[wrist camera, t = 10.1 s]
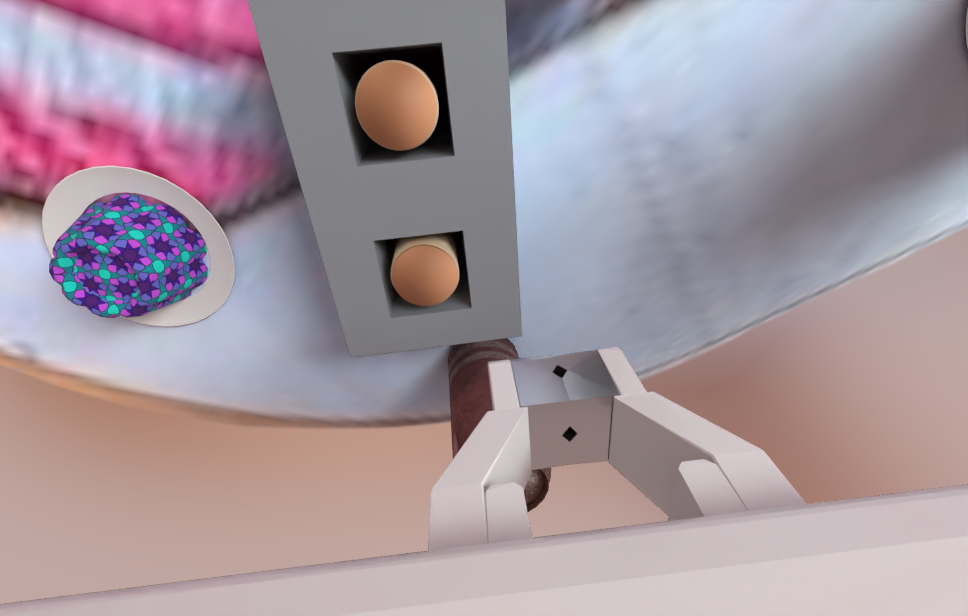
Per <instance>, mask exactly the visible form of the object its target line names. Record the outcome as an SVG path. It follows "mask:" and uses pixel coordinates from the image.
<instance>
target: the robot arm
mask: <svg viewBox="0 0 968 616" xmlns="http://www.w3.org/2000/svg"><path fill="white" fill-rule="evenodd" d="M966 41H967V47H968V9H967V17H966ZM488 373H489V382H490V391H491V400H492V409H493V411H488V412H486V414H485V415H484V416H483V418H482V419H481V421H480V422H479V424H478V425H477V426H476V428H475V429H474V431H473V432H472V433H471V435H470V436H469V438H468V439H467V440H466V442H465V443H464V445H463V446H462V447H461V449H460V450H459V452H458V453H457V454H456V456H455V457H454V459H453V460H452V461H451V463H450V464H449V466H448V467H447V468H446V470H445V471H444V473H443V474H442V476H441V477H440V478H439V480H438V481H437V482H436V484H435V486H434V487H433V488H432V490H431V501H430V522H429V543H428V551H424V552H414V553H406V554H398V555H390V556H383V557H374V558H366V559H359V560H350V561H342V562H335V563H326V564H318V565H311V566H302V567H294V568H286V569H278V570H270V571H262V572H254V573H246V574H237V575H229V576H222V577H213V578H205V579H198V580H190V581H182V582H173V583H166V584H158V585H149V586H141V587H134V588H126V589H118V590H109V591H102V592H93V593H85V594H77V595H70V596H61V597H54V598H45V599H37V600H29V601H21V602H13V603H5V604H0V616H968V484H963V485H956V486H947V487H939V488H930V489H922V490H915V491H906V492H898V493H891V494H882V495H874V496H866V497H858V498H850V499H842V500H834V501H825V502H817V503H809V504H806V503H805V501H804V500H803V499H802V498H801V496H800V495H799V494H798V493H797V492H796V490H795V489H794V488H793V487H792V485H791V484H790V483H789V482H788V480H787V479H786V478H785V477H784V475H783V474H782V473H781V472H780V470H779V469H778V468H777V467H776V465H775V464H774V463H773V462H772V461H771V459H770V458H769V457H768V455H767V454H766V453H765V452H764V451H763V450H762V449H760V448H758V447H756V446H754V445H752V444H750V443H749V442H747V441H745V440H743V439H741V438H739V437H737V436H735V435H734V434H732V433H730V432H728V431H726V430H724V429H722V428H721V427H719V426H717V425H715V424H713V423H711V422H709V421H707V420H706V419H704V418H702V417H700V416H698V415H696V414H694V413H693V412H691V411H689V410H687V409H685V408H683V407H681V406H679V405H678V404H676V403H674V402H672V401H670V400H668V399H666V398H664V397H663V396H661V395H659V394H657V393H655V392H646V390H645V389H644V387H643V385H642V383H641V382H640V380H639V379H638V377H637V375H636V374H635V372H634V370H633V369H632V367H631V365H630V364H629V362H628V360H627V359H626V357H625V355H624V354H623V352H622V351H621V349H620V348H619V347H617V346H616V347H609V348H602V349H595V350H594V351H585V352H577V353H569V354H561V355H549V356H539V357H528V358H518V359H510V360H509V359H508V360H499V361H490V362H488ZM601 461H609V463H610V464H611V465H612V466H613V467H614V468H615V469H616V470H618V471H619V472H620V473H621V474H622V475H623V476H624V477H625V478H626V479H628V480H629V481H630V482H631V483H632V484H633V485H634V486H635V487H637V488H638V489H639V490H640V491H641V492H642V493H643V494H644V495H645V496H646V497H648V498H649V499H650V500H651V501H652V502H653V503H654V504H655V505H657V506H658V507H659V508H660V509H661V510H662V511H664V513H666V514H667V515H668V516H669V518H668V521H664V522H656V523H648V524H641V525H632V526H624V527H616V528H608V529H600V530H592V531H584V532H575V533H568V534H559V535H552V536H543V537H535V538H532V534H531V528H530V523H529V518H528V512H527V507H526V501H525V496H524V489H525V487H526V485H527V482H528V480H529V477H530V475H531V473H532V471H531V470H536V469H543V468H549V467H556V466H563V465H569V464H580V463H591V462H601Z"/></svg>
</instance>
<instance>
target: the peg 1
mask: <svg viewBox="0 0 968 616" xmlns="http://www.w3.org/2000/svg"><path fill="white" fill-rule="evenodd" d="M355 108H356V113H357V117H358V120H359V122H360V124H361V126H362V128H363V129H364V131H365V132H366V134H367V135H368V136H369V137H370V138H371V139H372V140H373V141H375V142H376V143H378V144H379V145H381V146H383V147H385V148H388V149H391V150H398V151H404V150H410V149H413V148H416V147H418V146H420V145H421V144H422V143H424V142H425V141H426V140H427V139H428V138H429V137H430V136H431V134H432V132H433V131H434V129H435V127H436V124H437V120H438V115H439V104H438V96H437V91H436V87H435V85H434V83H433V81H432V79H431V78H430V76H429V75H428V74H427V73H426V72H425V71H424V70H423V69H422V68H420V67H419V66H417V65H414V64H412V63H408V62H404V61H399V60H388V61H383V62H380V63H378V64H376V65H374V66H372V67H371V68H370V69H368V70H367V71H366V72H365V74H364V75H363V76H362V78H361V80H360V81H359V84H358V86H357V90H356V95H355Z"/></svg>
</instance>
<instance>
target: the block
mask: <svg viewBox="0 0 968 616" xmlns="http://www.w3.org/2000/svg"><path fill="white" fill-rule="evenodd" d="M247 1H248V4H249V8H250V11H251V15H252V18H253V22H254V25H255V29H256V32H257V36H258V39H259V43H260V46H261V50H262V53H263V56H264V60H265V63H266V67H267V70H268V74H269V77H270V81H271V84H272V88H273V91H274V95H275V98H276V101H277V105H278V108H279V112H280V115H281V119H282V122H283V126H284V129H285V133H286V136H287V140H288V143H289V147H290V150H291V153H292V157H293V160H294V164H295V167H296V171H297V174H298V178H299V181H300V185H301V188H302V192H303V195H304V198H305V202H306V205H307V209H308V212H309V216H310V219H311V223H312V226H313V230H314V233H315V237H316V240H317V243H318V247H319V250H320V254H321V257H322V261H323V264H324V268H325V271H326V275H327V278H328V282H329V285H330V289H331V292H332V295H333V299H334V302H335V306H336V309H337V313H338V316H339V320H340V323H341V327H342V330H343V334H344V337H345V340H346V344H347V347H348V351H349V354H350V358H354V357H362V356H370V355H377V354H385V353H393V352H401V351H409V350H417V349H425V348H433V347H440V346H448V345H456V344H464V343H472V342H480V341H488V340H495V339H503V338H511V337H519V336H522V332H521V311H520V291H519V271H518V251H517V230H516V210H515V190H514V170H513V149H512V129H511V109H510V89H509V68H508V48H507V28H506V8H505V0H247ZM438 49H440V55H441V64H442V72H443V81H444V90H445V98H446V107H447V116H448V124H449V133H450V135H448V136H438V137H429V138H428V139H427V140H426V141H425V142H424V143H422V144H421V145H420V146H418V147H416V148H413V149H410V150H404V151H398V150H391V149H388V148H385V147H383V146H381V145H379V144H378V143H375V141H373V140H372V139H371V138H370V137H369V136H368V135H367V134H366V132H365V131H364V129H363V128H362V126H361V124H360V122H359V120H358V117H357V113H356V108H355V95H356V90H357V86H358V84H359V81H360V80H361V78H362V72H361V67H360V62H359V57H363V56H374V55H385V54H395V53H406V52H416V51H427V50H438ZM455 231H461V237H462V246H463V254H464V259H458V266H459V281H458V284H457V287H456V289H455V290H454V292H453V293H452V294H451V295H450V296H449V297H448V298H447V299H446V300H445V301H443V302H441V303H439V304H436V305H432V306H419V305H415V304H412V303H410V302H408V301H406V300H405V299H403V298H402V297H401V296H400V295H399V294H398V292H397V291H396V290H395V288H394V286H393V284H392V281H391V266H392V261H393V257H394V252H395V247H396V246H395V241H394V238H403V237H411V236H420V235H429V234H437V233H446V232H455Z"/></svg>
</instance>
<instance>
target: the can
mask: <svg viewBox="0 0 968 616" xmlns="http://www.w3.org/2000/svg"><path fill="white" fill-rule="evenodd" d="M518 358H519V357H518V354H517V351H516V349H515V346H514V345H513V344H512V343H511V342H510V341H509V339H508V338H503V339H495V340H488V341H480V342H472V343H464V344H456V345H455V346H454V347H453V349H452V350H451V352H450V355H449V359H448V369H449V389H450V409H451V430H452V450H453V459H454V457H455V456H456V454H457V453H458V452H459V450H460V449H461V447H462V446H463V445H464V443H465V442H466V440H467V439H468V438H469V436H470V435H471V433H472V432H473V431H474V429H475V428H476V426H477V425H478V424H479V422H480V421H481V419H482V418H483V416H484V415H485V414H486V412H488V411H493V409H492V400H491V391H490V382H489V373H488V362H490V361H499V360H508V359H509V360H510V359H518ZM531 471H532V473H531V475H530V477H529V480H528V482H527V485H526V487H525V489H524V496H525V501H526V507H527V512H529V511H530V510H532V509H534V508H535V507H537V505H539V503H541V502H542V501H543V499H544V498H545V496H546V494H547V492H548V488H549V482H550V478H551V467H549V468H543V469H536V470H531Z"/></svg>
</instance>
